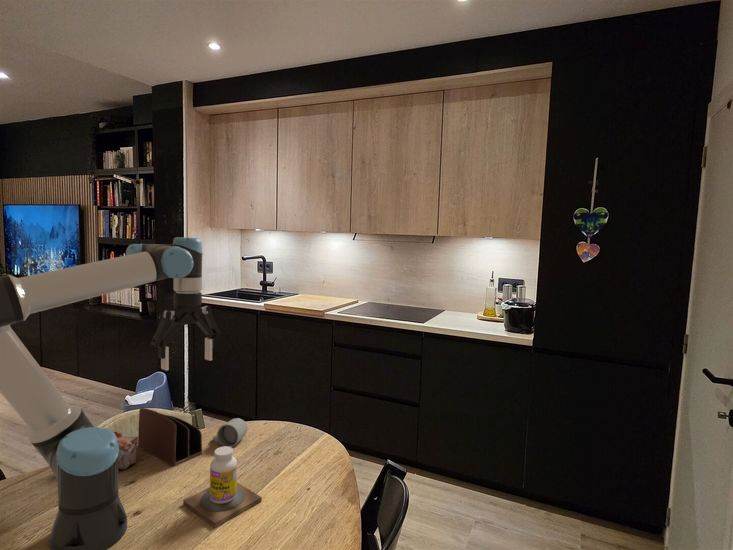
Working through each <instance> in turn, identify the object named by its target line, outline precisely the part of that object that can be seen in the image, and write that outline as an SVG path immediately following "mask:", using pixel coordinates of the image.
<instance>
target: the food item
mask: <svg viewBox="0 0 733 550" xmlns="http://www.w3.org/2000/svg"><path fill="white" fill-rule="evenodd" d="M112 432H113V433H114V434H115V435H116V437H117V441H118V446H119V452H118V453H119V454H118V470H126V469H127V468H129V467H130V466H132V465H134V463H136V462H137V448H138V436H123V435H122V433H121V432H118V431H112Z"/></svg>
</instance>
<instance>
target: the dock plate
mask: <svg viewBox="0 0 733 550" xmlns="http://www.w3.org/2000/svg"><path fill="white" fill-rule="evenodd" d="M262 498H263V497H262V496H261V495H259V494H257V493H255V492H254V491H252V490H251V489H249V488H247V487H246V486H243V485H242V484H240V483H239V482H237V492H236V496H235V498H234V499H233V500H232V501H230V502H228V503H224V504H217V503H214V502H212V501H211V499H210V486H209V487H208V488H205V489H203V490H202V491H200V492H196V493H194V494H193V495H191V496H189V497H187V498H184V499H183V500H182V501H183V502H182V504H183V506H184V507H186V508H188V509H189V510H190V511H191V512H193V513H195V514H196V515H197V516H198V517H200V518H201V519H202V520H204V521H205V522H207V523H208V524H210V525H211V526H212V527H214V528H215V529H216V528H218V527H219V526H220V525H222V524H225V523H226V522H228V521H230V520H232V519H233V518H234V517H237V516H238V515H240V514H242V513H244V512H245V511H247V510H249V509H251V508H253V507H254V506H256V505H257V504H260V503H261V502H262V501H263V500H262Z"/></svg>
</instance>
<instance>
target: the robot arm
mask: <svg viewBox="0 0 733 550" xmlns="http://www.w3.org/2000/svg"><path fill="white" fill-rule="evenodd" d="M170 278H171V279H173V291H174V293H173V310H166V309H165V310H162V314H161V319H160V321H159V324H158V325H157V328H156V330H155V333H154V334H153V336H152V339H151V341H150V345H152V346H153V347H154V346H155V347H157V357H158V358H159V359H160V368H161V370H163V371H165V372H167V371H169V370H170V365H169V364H170V363H169V360H170V357H169V356H170V355H169V353H170V352H169V351H170V350H169V349H170V347H169V346H167V345H168V343H169V342H170V340H171V339H172V338H173V336H175V334H176V333H177V331H178V330H179V328H181V327H182V326H187V325H193V324H194V325H195V324H196V325H197V326H198V327H199V329H200V330H201V331H202V332H203V333H204V334H205V335H206V337H205V338H204V360H206V361H210V362H211V361H213V349H214V348H215V339H217V338H218V336H220V335H221V331H220V329H219V326H218V324H217V322H216V319H215V318H214V315H213V313H212V307H211V306H209V305H203V306H202V302H203V301H202V300H203V292H201V291H202V290H203V243H202V240H201V239H200V238H198V237H184V236H183V237H178V236H177V237H174V238H173V242H172V244H165V243H161V244H158V243H157V244H156V243H132V244H130V245H128V246H127V248H126V250H125V255H122V256H117V257H113V258H107V259H102V260H99V261H92V262H89V263H83V264H78V265H75V266H70V267H65V268H60V269H56V270H51V271H45V272H41V273H36V274H32V275H27V276H21V277H16V276H13V275H12V274H5V275H1V276H0V394H1V395H2V396H3V397H4V399H5V400H6V401H7V403H8V404H10V406H11V407H12V408H13V410H14V411H15V412H16V413H17V415H18V416H19V417H20V418H21V419H22V421H23V422H24V423H25V424H26V426H28V428H29V429H30V431H29V434H28V435H29V436H28V441H29V442H30V444H31V445H32V446H33V447H34V448H35V450H36V451H37V452H38V453H39V454H40V455H41V457H43V460H44V461H46V463H47V465H49V468H50V469H51V471H52V473H53V475H54V476H55V479H56V482H57V501H58V502H57V504H58V505H57V506H58V508H57V509H58V511H57V514H56V517H55V520H54V521H53V522H54V523H53V526H52V528H51V531H50V534H49V543H48V544H49V550H107V549H109V548H110V547H112V546H113V545H115V544H116V543H118V542H119V541H120V540H121V539H122V537H123V536H124V535H125V533H126V532H127V531H128V530H127V529H128V515H127V512H126V510H125V508H124V506H123V503H122V500H121V498H120V496H119V469H118V454H119V453H118V452H119V446H118V441H117V437H116V435H115V434H114V433H113V432H114V431H112V430H110V429H109V428H105V427H103V428H101V427H100V426H95V425H94V424H93V422H91V420H90V419H89V417H88V416H87V415H86V413H85V412H84V411H83V410H82V408H81V407H80V406H79V405H76V404H75V405H74V404H73V405H71V404H69V403H68V402H67V401H66V399H65V398H64V397H63V395H62V394H61V392H60V391H59V390H58V388H57V387H56V386H55V385H54V383H53V382H52V381H51V379H50V378H49V377H48V375H47V374H46V373H45V371H44V370H43V369H42V367H41V366H40V364H39V363H38V361H36V359H35V358H34V357H33V355H32V354H31V352H30V351H29V350H28V348H27V347H26V346H25V345H24V343H23V342H22V340H21V339H20V338H19V337H18V335H17V334H16V332H15V331H14V330H13V328H12V327H11V325H15V324H17V323H20V322H22V323H23V322H25V321H26V320H27V318H28V317H29V316H30V315H31V314H35V313H39V312H43V311H47V310H50V309H55V308H57V307H58V308H59V307H62V306H65V305H69V304H72V303H73V304H74V303H77V302H81V301H85V300H88V299H92V298H96V297H101V296H105V295H107V294H112V293H115V292H118V291H124V290H127V289H130V288H133V287H138V286H142V285H145V284H149V283H153V282H157V281H161V280H166V279H170ZM202 314H203V317H204V318H205V320H206V322H207V324H206V323H205V321H204V319H203V318H202V317H201V315H202ZM173 317H174V318H173ZM172 318H173V320H172V321H171V319H172ZM170 322H171V323H170ZM169 324H170V325H169Z"/></svg>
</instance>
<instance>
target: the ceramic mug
mask: <svg viewBox="0 0 733 550" xmlns="http://www.w3.org/2000/svg"><path fill="white" fill-rule="evenodd" d="M247 432H248V425H247V422H246V421H245V420H244V419H242V418H240V417H237V418H236V417H235V418H232V419H230V420H229V421H228V422H225V423H224V424H222V425H221V426H220V427H219V428H218V430H217V432H216V433H217V434H215V435H214V436H213V437H212V438H213V441H214V443H215V442H218V443H219V444H220V445H221V447H224V446H228V447H231V448H233V447H235V446H236V445H237V444H238V443H239V442H240V441H241V440H242V439H243V438H244V437H246V434H247Z"/></svg>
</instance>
